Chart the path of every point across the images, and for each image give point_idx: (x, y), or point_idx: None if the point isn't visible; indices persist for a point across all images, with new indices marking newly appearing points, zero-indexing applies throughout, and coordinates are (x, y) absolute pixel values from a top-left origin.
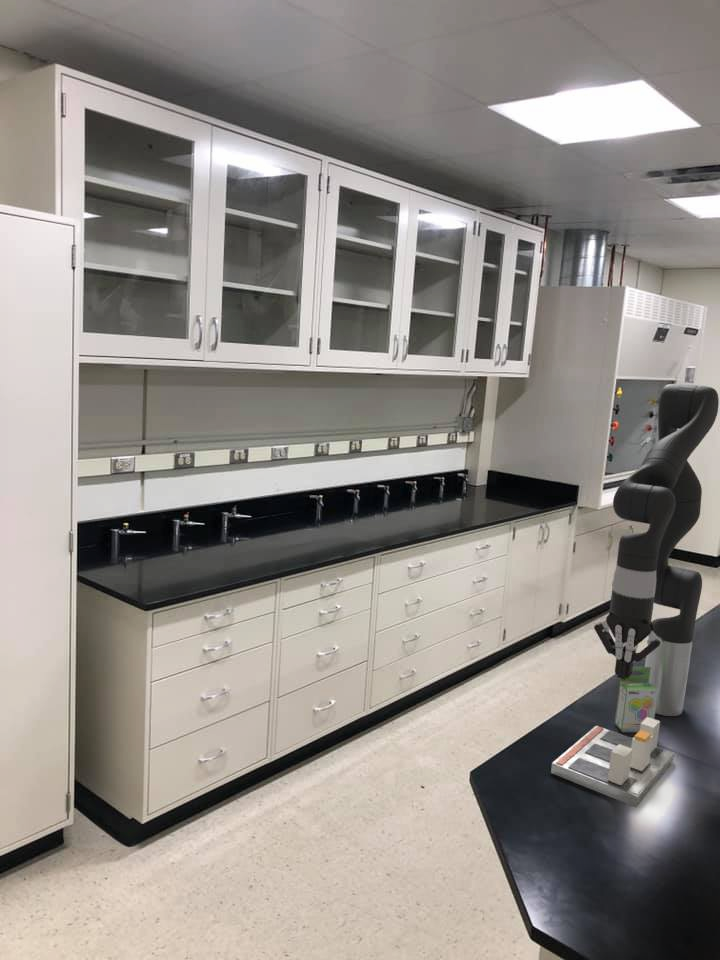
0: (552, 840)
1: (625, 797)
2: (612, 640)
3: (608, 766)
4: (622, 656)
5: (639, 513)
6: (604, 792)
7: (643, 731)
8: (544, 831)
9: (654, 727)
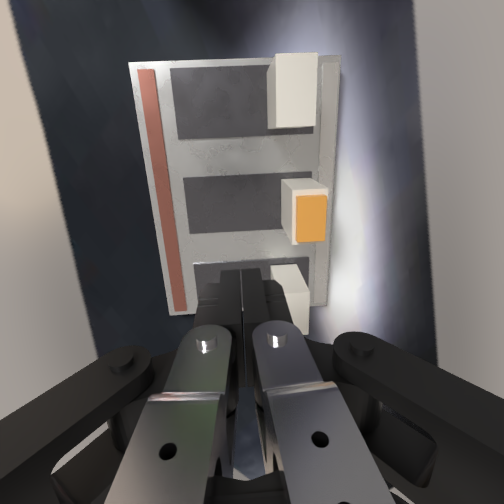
0: None
1: None
2: (77, 440)
3: (249, 248)
4: (236, 402)
5: None
6: None
7: (307, 199)
8: (248, 423)
9: (315, 116)
